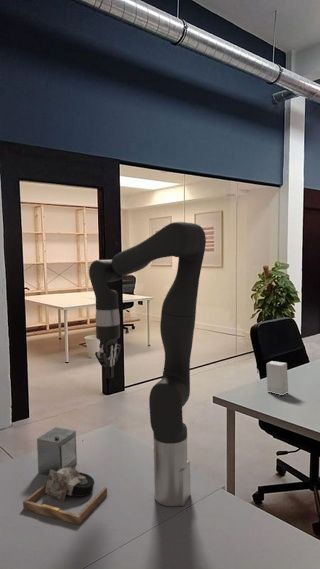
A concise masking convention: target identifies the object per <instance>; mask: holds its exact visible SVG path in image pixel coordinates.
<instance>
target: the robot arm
mask: <svg viewBox="0 0 320 569" xmlns="http://www.w3.org/2000/svg"><path fill="white" fill-rule="evenodd" d="M206 239H207V237H206V233H205V231H204V229H203V227H202V226H201V225H200V224H197V223H192V222H186V221H178V220H177V221H173V222H170V223H168V224H167V225H165V226H163V227H162V228H161V229H159V230H158V231H157V232H155V233H154V234H152V235H150V237H148V238H147V239H145V240H144V241H142V242H140V243H138V244H136V245H134V246H132V247H129V248H127V249H124V250H122V251H120V252H118V253H116V254H115V255H114V256H113V258H112V259H97V260H96V259H95V260H94V261H92V263H90V265H89V269H88V276H89V280H90V283H91V286H92V290H93V293H94V296H95V297H94V298H95V319H94V320H95V337H96V339H97V340H99V346H98V347H99V350H98V351H96V352H95V353H94V354H95V357H96V359H97V361H98V363H99V365H100V366H102V367H104V372H105V374H104V376H105V378H106V379H111V378H114V376H115V375H114V372H115V371H114V366H116V365H115V363H117V362H118V359H119V356H120V353H121V348H122V345H121V344H118V339H119V338H120V337H121V324H120V323H121V320H120V318H121V317H120V311H119V295H118V294H119V293H118V292H117V291H116V290H114V289H110V288H109V285H108V283H114V282H117V281H120V280H122V279H123V278H125V277H126V276H127V275H131V274H133V273H136V272H138V271H141V270H143V269H144V268H146V267H147V266H149V265H150V263H151V262H154V261H155V260H158V259H163V258H170V257H174V258H178V261H177V262H178V263H177V270H176V274H175V278H174V281H173V282H172V284H171V286H170V288H169V290H168V291H167V294H166V295H165V298H164V299H163V303H162V304H161V305H162V306H161V314H160V322H159V323H160V328H159V331H160V337H161V342H162V346H163V350H164V351H163V352H164V364H163V365H164V366H163V371H162V377H161V380H159V381H157V382H156V383H155V384H154V385H153V387H152V388H151V389H150V392H149V396H148V397H149V398H148V400H149V401H148V402H149V404H148V405H149V418H150V421H149V422H150V427H151V429H152V433H153V466H154V467H153V473H154V474H153V475H154V482H153V483H154V498H155V500H156V502H157V503H158V504H160V505H162V506H165V507H178V506H180V507H184V506H185V504H186V502H187V501H188V499H189V497H190V495H191V461H190V460H188V428H187V425H186V424H185V423H184V421H183V407H184V406H185V405H186V404H187V402H188V400H189V397H190V394H191V374H190V373H191V370H190V369H191V368H190V366H191V354H192V349H193V340H194V334H195V333H194V332H195V325H196V314H197V303H198V302H197V301H198V292H199V285H200V284H199V282H200V277H201V270H202V265H203V260H204V256H205V251H206V244H207V242H206V241H207V240H206Z"/></svg>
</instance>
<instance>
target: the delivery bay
mask: <svg viewBox="0 0 320 569" xmlns="http://www.w3.org/2000/svg"><path fill="white" fill-rule="evenodd" d="M46 485H47V482H46V483H44V484H43V485H42V486H41V487H39V488H38V489H37V490H36V491H35V492H33V493H32V494H31V495H30V496H29V495H28V497H27V498H26V499H24V500H23V501H22V508H23V510H26V511H29V512H33V513H36V514H40V515H43V516H46V517H51V518H53V519H57V520H60V521H64V522H66V523H67V522H68V523H70V524H74V525H77V526H80V525H81V523H82V522H83V521H84V520H85V519H86V518H87V517H88V516H89V515H90V514H91V512H93V510H95V509H96V507H97V506H99V504H100V503H101V502H103V501H102V500H104V499H105V498H106V496H107V495H108V487H107V486H104V487H103V488H102V489H101V490H100V491H99V492H98V493H97V494H96V495H95V496H94V497H93V498H92V499H91V501H89V502H88V503H87V505H86V506H85V507H83V509H82V510H81V511H80V512H79V513H78V514H77V513H74V512H69V511H66V510H62V509H60V507H55V506H52V505H50V504H42V503H37V501H38V500H39V499H41V497H43V496H44V495H46V494H47V493H46V492H45V489H46Z"/></svg>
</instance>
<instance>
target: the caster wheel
mask: <svg viewBox="0 0 320 569" xmlns="http://www.w3.org/2000/svg"><path fill="white" fill-rule="evenodd" d="M46 483H47V485H46V489H45V492H46V493H45V494H48V495H49V496H52V497H53V498H55V499H57V500H59V501H61V502H65V499H66V495H67V496H76V497H86V496H89V495H90V494H92V492H93V489H94V486H95V480H94V478H93V477H92V476H91V475H89V474H87V473H85V472H81V471H78V470H77V469H76V468H74V467H73V468H72V467H66V468H63V469H60V470H59V471H57V472H56V471H54V470H52V469H50V472H49V476H48V477H47V482H46Z"/></svg>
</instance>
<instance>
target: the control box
mask: <svg viewBox="0 0 320 569" xmlns="http://www.w3.org/2000/svg"><path fill="white" fill-rule="evenodd" d="M36 446H37V472H38V474H40V475H45V476H48V477H49V472H50V469H52V470H54V471H56V472H57V471H59V470H60V469H63V468H66V467H72V468H74V467H75V466H76V465H77V464H78V462H77V461H78V458H77V432H76V430H73V429H67V428H63V427H58V426H55V427H53V428H52V429H50V430H49V431H47V432H45V433H44V434H41V436H39V437H38V438H36Z"/></svg>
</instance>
